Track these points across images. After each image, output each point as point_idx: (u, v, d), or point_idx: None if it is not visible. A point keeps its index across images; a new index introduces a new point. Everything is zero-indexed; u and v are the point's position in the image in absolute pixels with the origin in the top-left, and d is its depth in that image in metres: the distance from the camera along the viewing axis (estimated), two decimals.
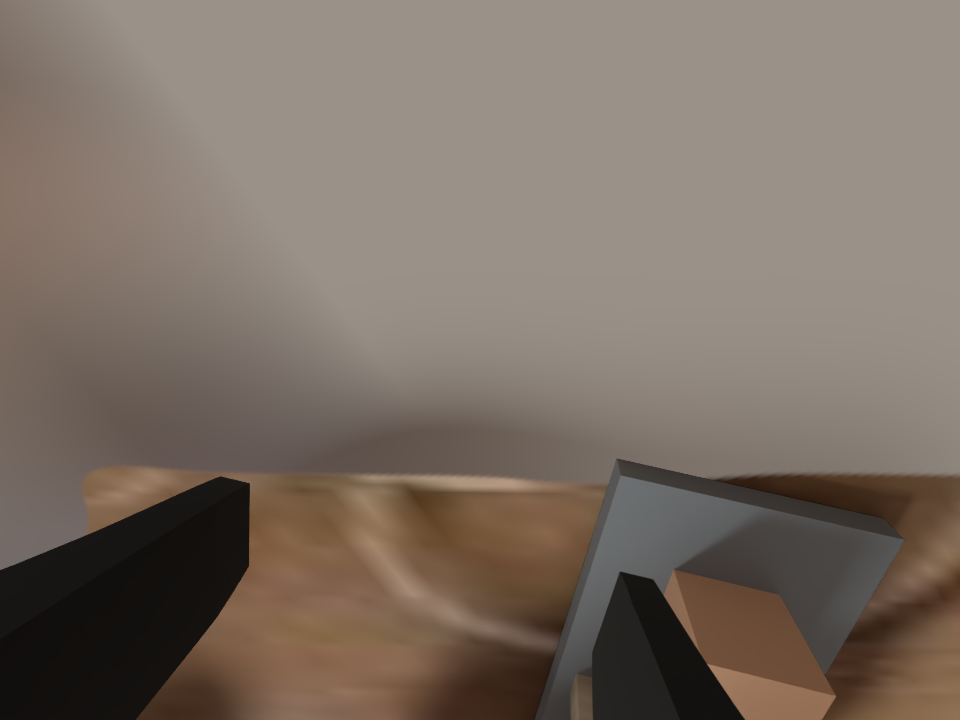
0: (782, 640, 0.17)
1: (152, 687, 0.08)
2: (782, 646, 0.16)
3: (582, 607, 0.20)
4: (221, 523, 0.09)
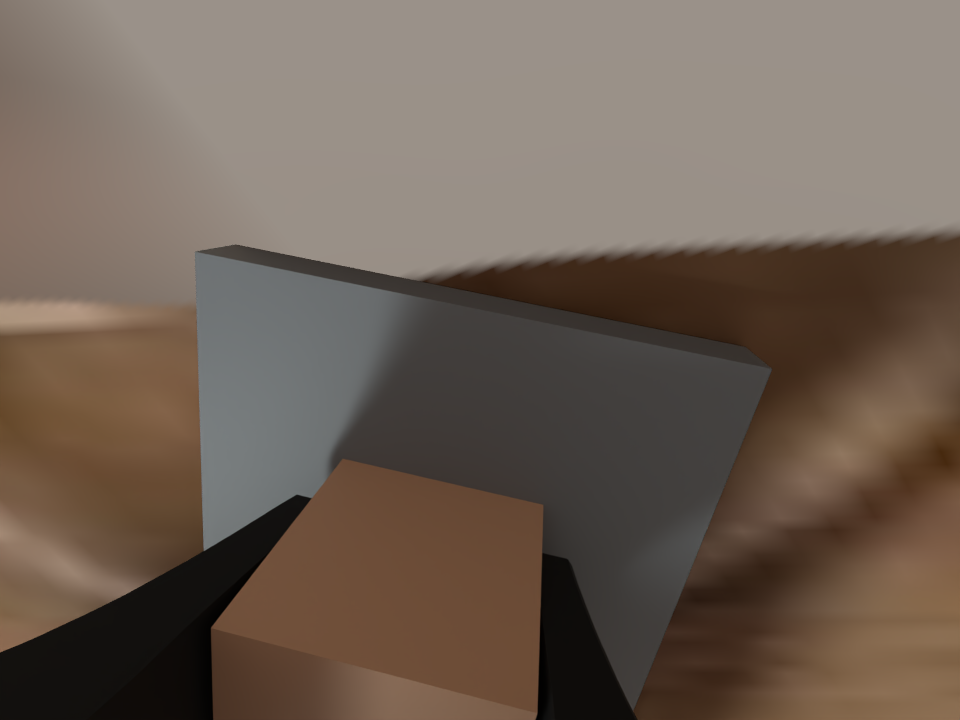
0: (482, 584, 0.07)
1: None
2: (473, 595, 0.07)
3: (210, 541, 0.11)
4: None
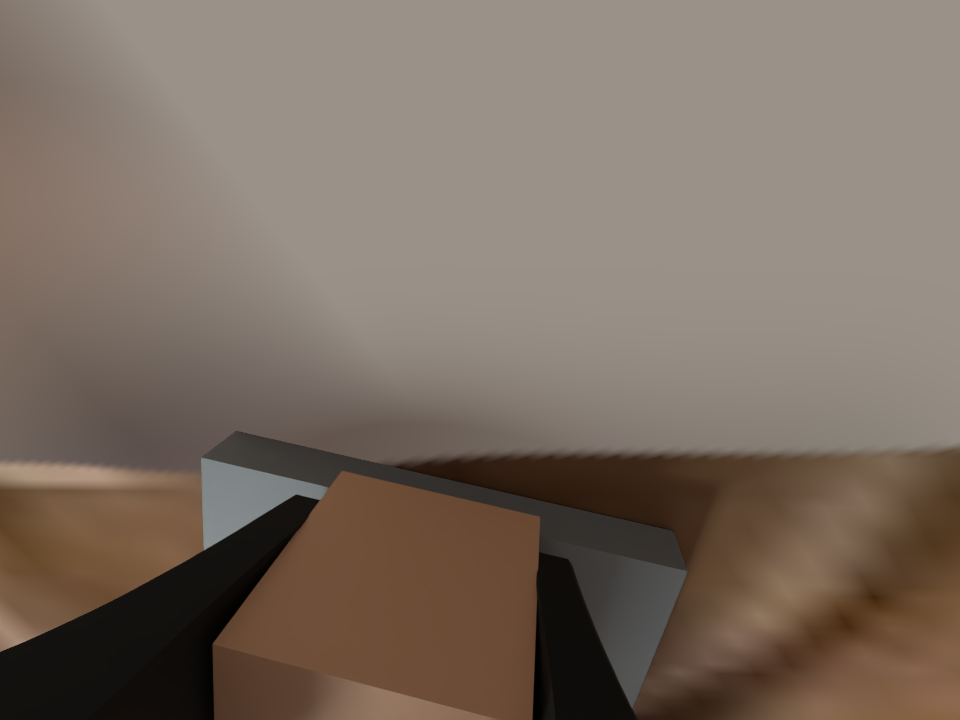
0: (478, 598, 0.07)
1: None
2: (470, 609, 0.07)
3: None
4: None
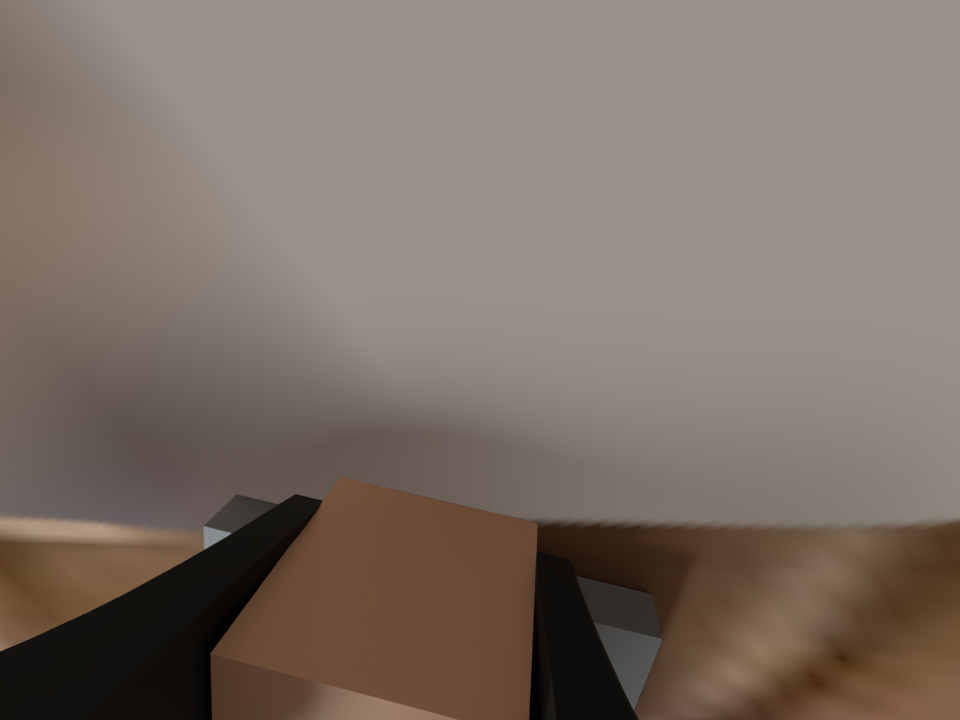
0: (476, 606, 0.07)
1: None
2: (467, 617, 0.07)
3: None
4: None
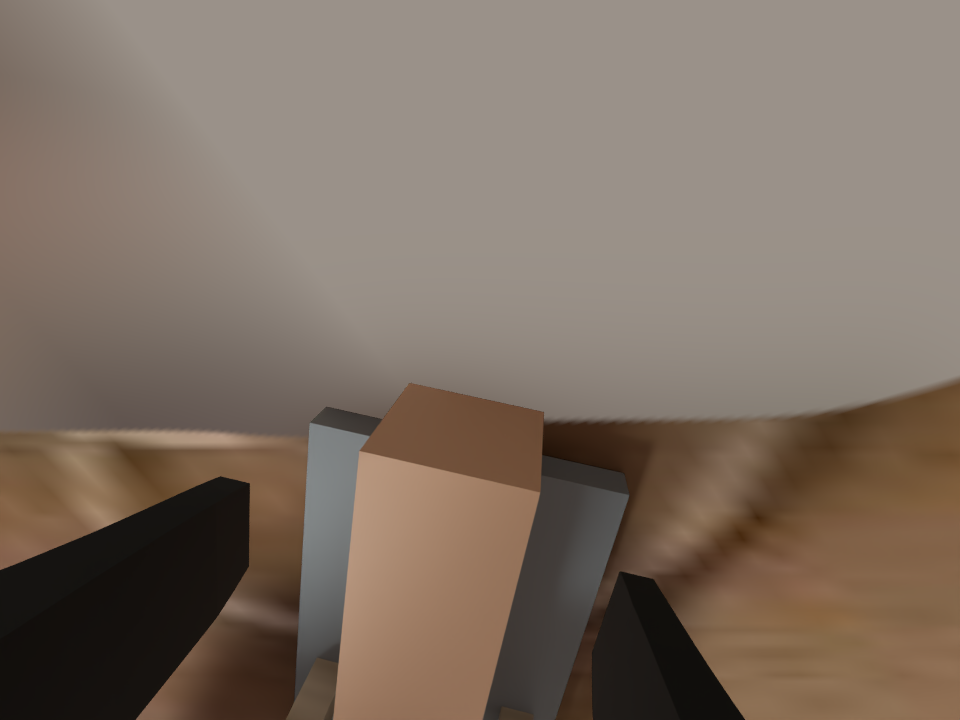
0: (506, 444, 0.12)
1: (152, 687, 0.08)
2: (502, 448, 0.12)
3: (305, 580, 0.18)
4: (221, 523, 0.09)
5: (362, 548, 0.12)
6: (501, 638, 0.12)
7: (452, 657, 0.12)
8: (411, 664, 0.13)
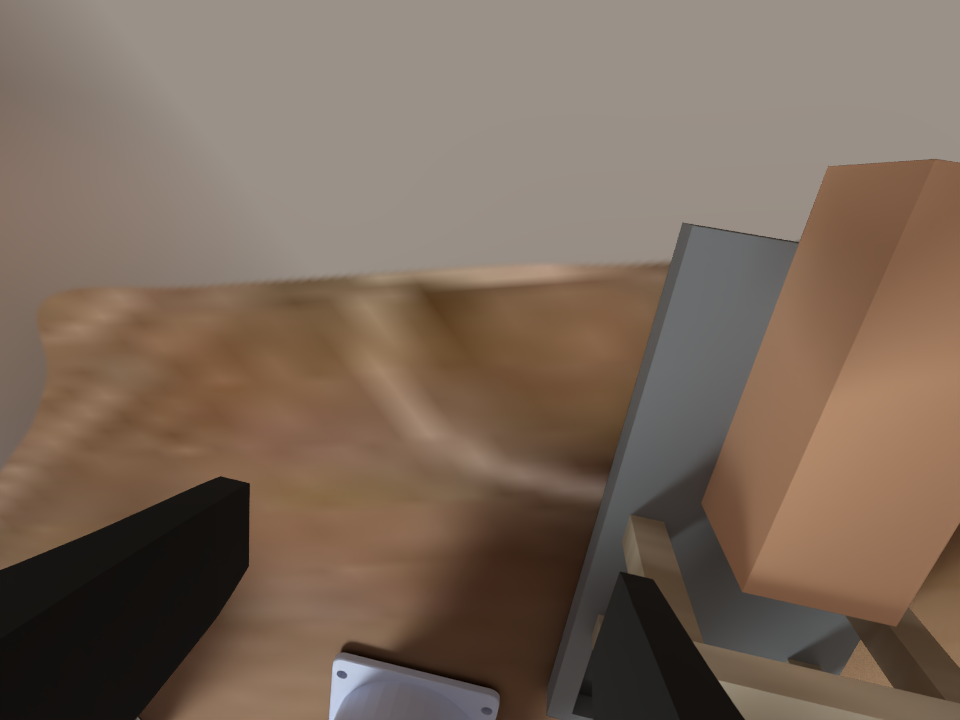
0: None
1: (152, 687, 0.08)
2: None
3: (639, 421, 0.16)
4: (221, 523, 0.09)
5: (892, 292, 0.10)
6: None
7: (958, 429, 0.11)
8: (900, 443, 0.11)
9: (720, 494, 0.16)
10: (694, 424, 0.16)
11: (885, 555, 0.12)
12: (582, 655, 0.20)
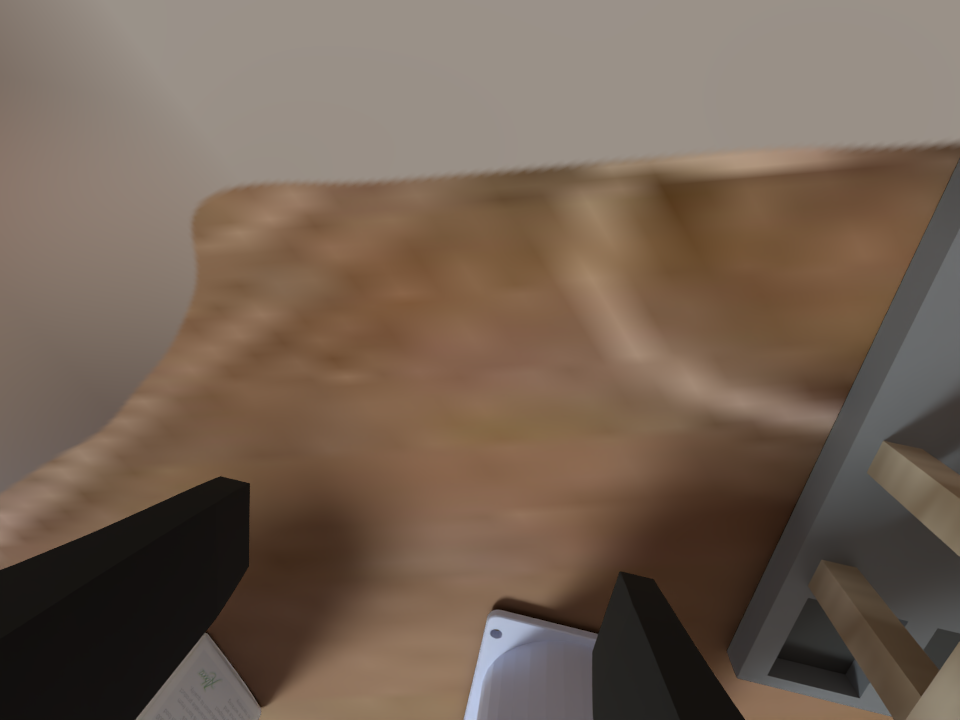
0: None
1: (152, 687, 0.08)
2: None
3: (916, 328, 0.14)
4: (221, 523, 0.09)
5: None
6: None
7: None
8: None
9: None
10: None
11: None
12: (793, 607, 0.18)
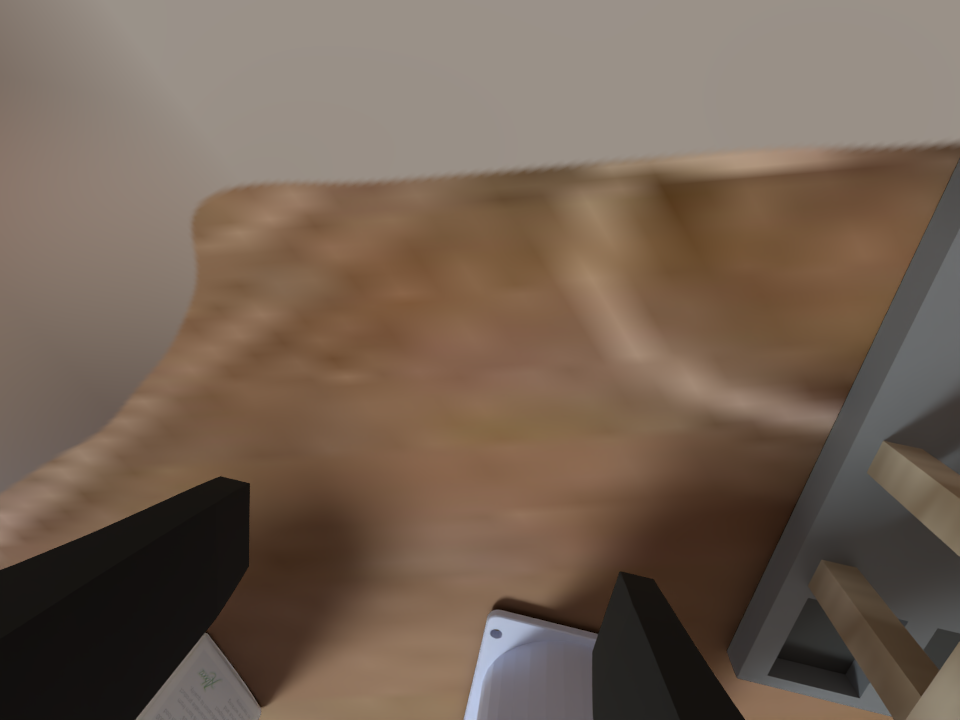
0: None
1: (152, 687, 0.08)
2: None
3: (916, 328, 0.14)
4: (221, 523, 0.09)
5: None
6: None
7: None
8: None
9: None
10: None
11: None
12: (793, 607, 0.18)
